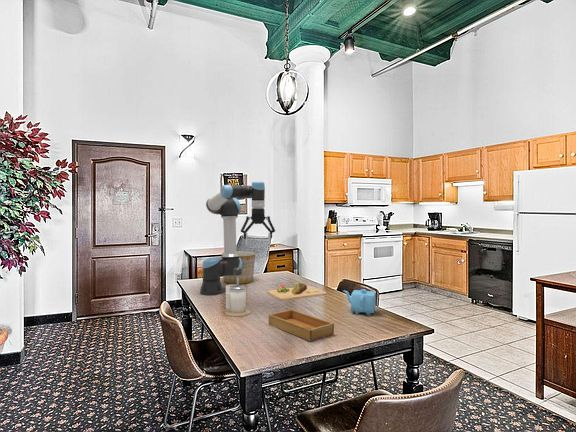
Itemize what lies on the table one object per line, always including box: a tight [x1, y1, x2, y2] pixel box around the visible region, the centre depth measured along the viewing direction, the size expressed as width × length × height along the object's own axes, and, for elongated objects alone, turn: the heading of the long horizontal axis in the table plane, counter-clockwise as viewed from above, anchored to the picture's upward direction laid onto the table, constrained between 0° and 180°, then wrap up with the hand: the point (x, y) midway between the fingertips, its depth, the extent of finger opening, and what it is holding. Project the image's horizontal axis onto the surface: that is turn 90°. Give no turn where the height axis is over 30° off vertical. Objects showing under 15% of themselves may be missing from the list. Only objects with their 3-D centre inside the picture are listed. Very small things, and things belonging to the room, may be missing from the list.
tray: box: [268, 309, 335, 342], centre depth 177 cm, size 31×15×6 cm, turn 39°
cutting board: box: [266, 282, 328, 301], centre depth 248 cm, size 35×23×8 cm
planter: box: [220, 250, 256, 285], centre depth 285 cm, size 26×26×22 cm
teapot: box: [343, 288, 377, 316], centre depth 206 cm, size 18×16×13 cm
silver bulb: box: [230, 268, 246, 290], centre depth 202 cm, size 8×8×11 cm
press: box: [224, 287, 251, 317], centre depth 203 cm, size 14×14×13 cm
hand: (258, 244), depth 215 cm, fingers open, 13 cm apart
